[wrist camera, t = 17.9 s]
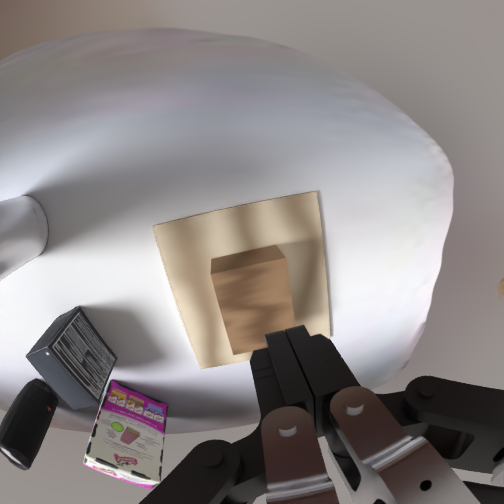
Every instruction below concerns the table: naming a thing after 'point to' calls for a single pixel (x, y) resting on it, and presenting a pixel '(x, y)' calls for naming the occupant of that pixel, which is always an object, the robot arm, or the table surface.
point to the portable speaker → (27, 423)
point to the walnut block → (253, 296)
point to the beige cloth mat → (235, 241)
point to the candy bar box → (128, 437)
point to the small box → (73, 359)
